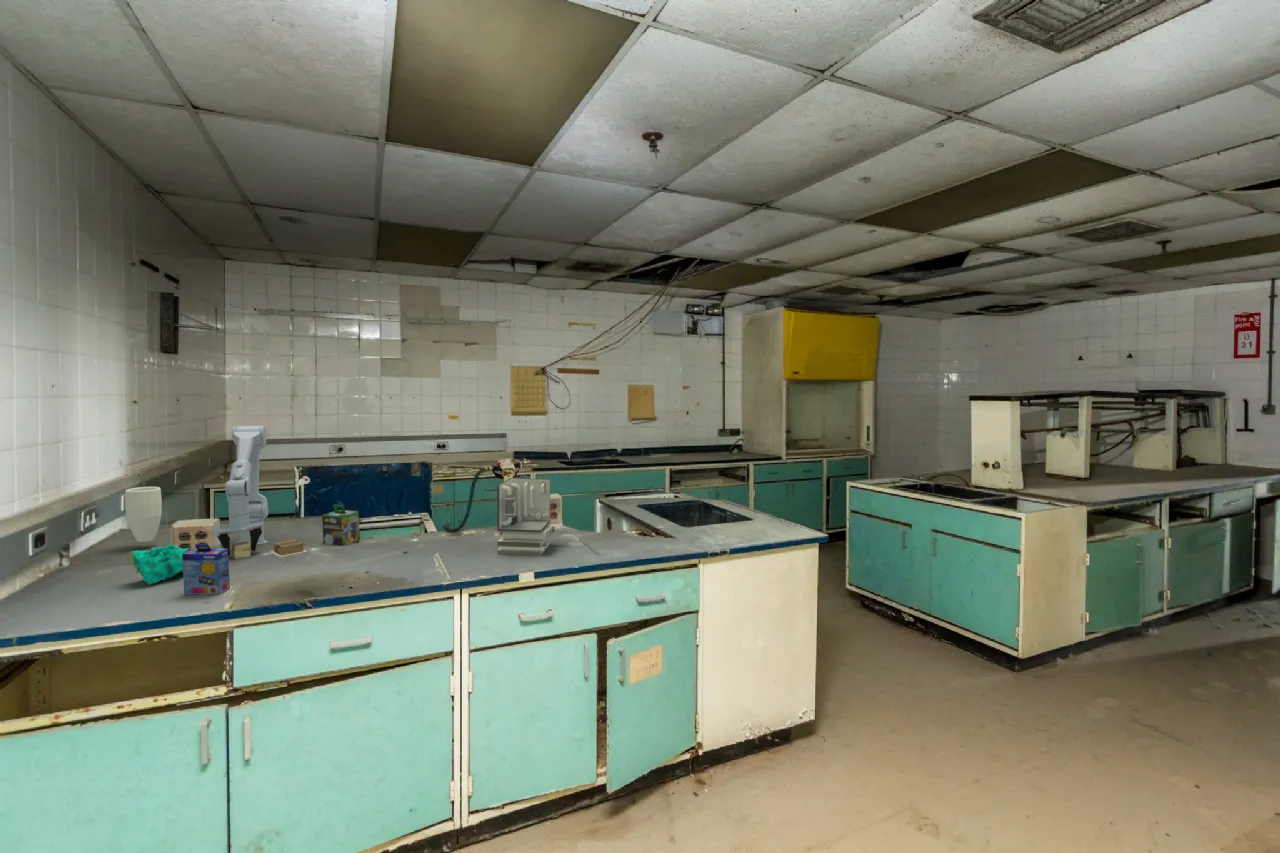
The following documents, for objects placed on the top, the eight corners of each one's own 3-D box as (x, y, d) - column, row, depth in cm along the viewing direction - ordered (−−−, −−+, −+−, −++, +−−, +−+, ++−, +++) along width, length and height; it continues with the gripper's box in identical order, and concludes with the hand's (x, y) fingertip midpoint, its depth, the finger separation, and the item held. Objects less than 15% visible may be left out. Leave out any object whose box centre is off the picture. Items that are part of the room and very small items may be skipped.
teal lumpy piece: (141, 551, 188) (186, 530, 191) (160, 585, 188) (204, 563, 192) (114, 556, 173) (163, 533, 177) (134, 592, 174) (183, 568, 177)
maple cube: (230, 556, 205) (230, 543, 205) (245, 553, 209) (245, 541, 208) (235, 559, 203) (235, 546, 202) (250, 556, 206) (250, 543, 206)
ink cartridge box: (182, 595, 170) (180, 545, 169) (195, 588, 175) (193, 540, 174) (219, 595, 171) (217, 545, 170) (230, 588, 176) (228, 540, 175)
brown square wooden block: (274, 551, 212) (273, 543, 211) (295, 547, 217) (295, 539, 217) (282, 555, 207) (281, 547, 207) (303, 551, 213) (303, 542, 212)
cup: (169, 543, 221) (166, 485, 220) (156, 551, 212) (154, 490, 210) (135, 545, 218) (132, 486, 216) (121, 553, 208) (117, 492, 207)
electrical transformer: (509, 542, 230) (509, 478, 228) (558, 544, 229) (559, 479, 227) (497, 554, 215) (497, 485, 213) (550, 556, 213) (550, 486, 211)
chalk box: (360, 540, 229) (359, 502, 228) (342, 547, 220) (341, 507, 219) (340, 538, 232) (339, 501, 230) (322, 544, 223) (321, 505, 222)
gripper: (218, 519, 196) (219, 559, 197) (267, 512, 208) (268, 550, 209) (211, 516, 201) (212, 555, 202) (259, 509, 212) (260, 546, 213)
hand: (240, 552), depth 206 cm, fingers open, 7 cm apart
